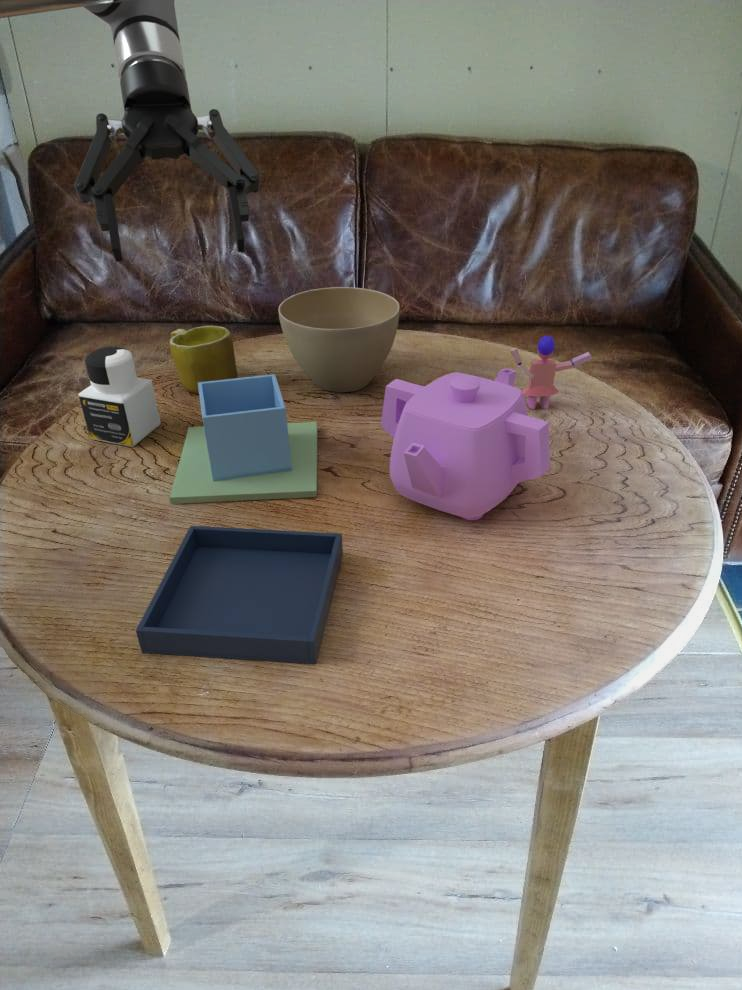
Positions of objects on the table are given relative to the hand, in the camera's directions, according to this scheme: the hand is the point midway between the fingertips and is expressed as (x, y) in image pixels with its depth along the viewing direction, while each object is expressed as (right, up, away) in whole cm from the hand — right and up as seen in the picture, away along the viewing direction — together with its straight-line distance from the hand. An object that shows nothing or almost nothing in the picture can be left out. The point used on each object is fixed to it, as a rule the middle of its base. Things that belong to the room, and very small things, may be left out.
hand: (180, 250), depth 90 cm
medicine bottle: (-14, -17, +23) cm, 32 cm away
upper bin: (+5, -22, +16) cm, 27 cm away
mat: (+5, -22, +16) cm, 28 cm away
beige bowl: (+16, -8, +36) cm, 40 cm away
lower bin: (+9, -39, -6) cm, 40 cm away
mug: (-7, -7, +37) cm, 38 cm away
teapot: (+32, -26, +11) cm, 43 cm away
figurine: (+46, -13, +30) cm, 56 cm away
